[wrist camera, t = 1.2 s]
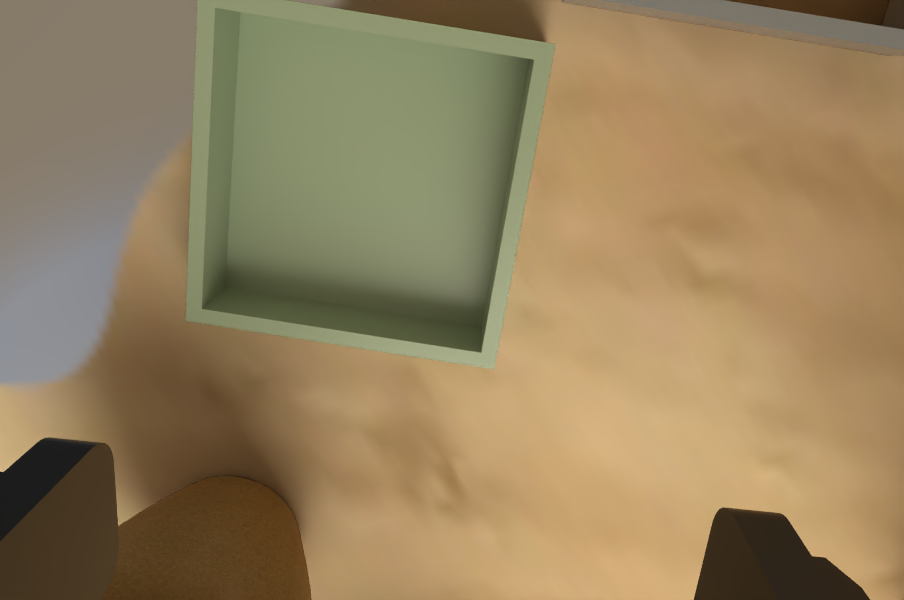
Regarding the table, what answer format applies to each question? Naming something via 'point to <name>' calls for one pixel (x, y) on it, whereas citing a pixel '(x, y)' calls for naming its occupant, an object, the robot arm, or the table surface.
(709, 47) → the table surface
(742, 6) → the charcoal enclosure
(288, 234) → the olive bin
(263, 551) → the plant pot
